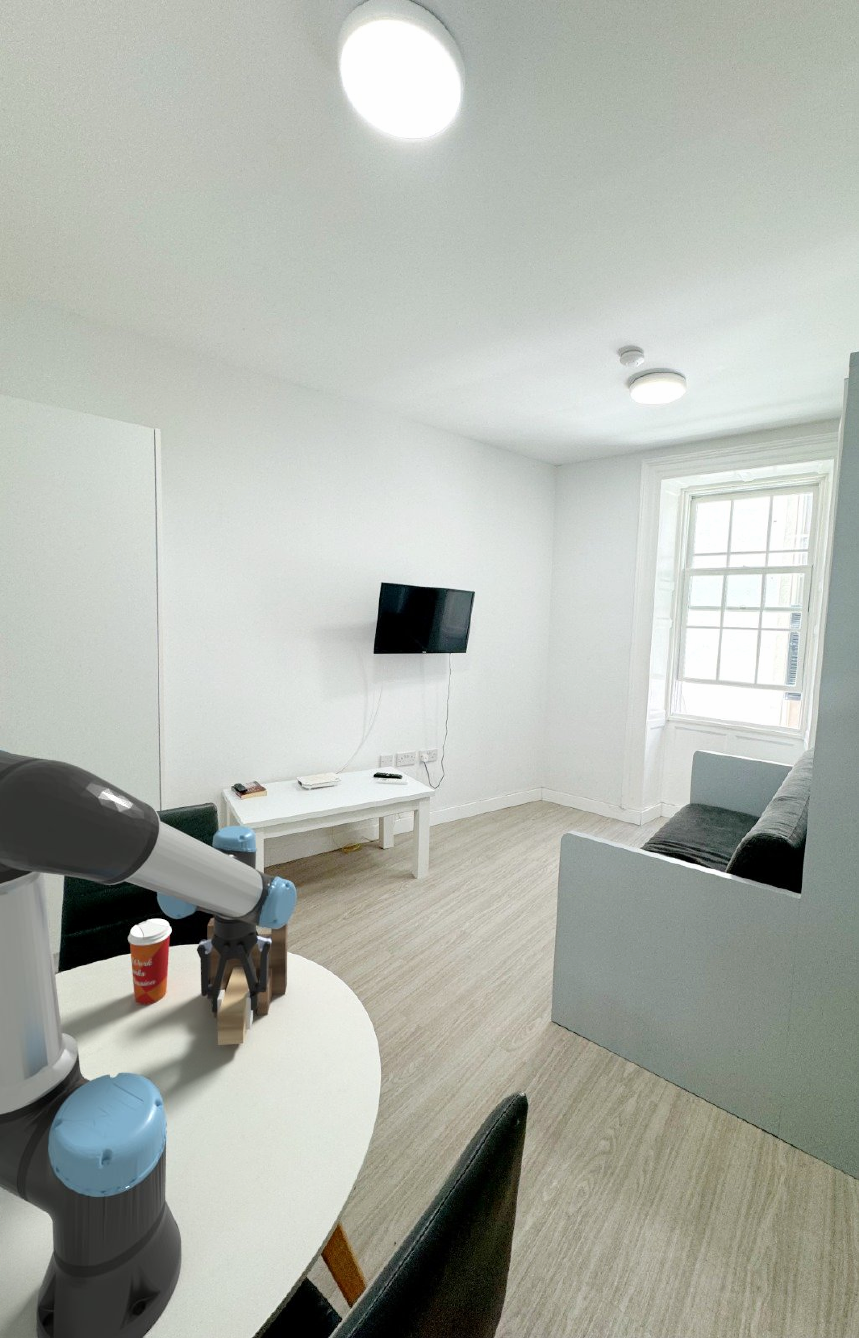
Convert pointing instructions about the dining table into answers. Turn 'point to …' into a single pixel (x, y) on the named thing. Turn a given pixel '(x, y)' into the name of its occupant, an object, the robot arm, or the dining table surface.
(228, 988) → the tan wooden block
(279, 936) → the brown notched piece
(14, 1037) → the robot arm
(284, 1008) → the dining table surface
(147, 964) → the coffee cup
